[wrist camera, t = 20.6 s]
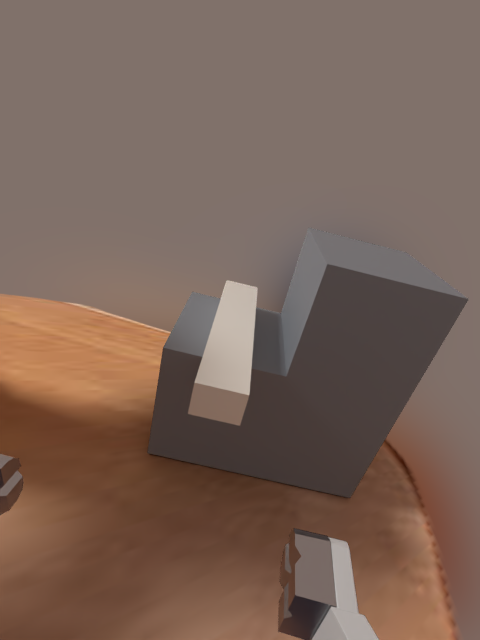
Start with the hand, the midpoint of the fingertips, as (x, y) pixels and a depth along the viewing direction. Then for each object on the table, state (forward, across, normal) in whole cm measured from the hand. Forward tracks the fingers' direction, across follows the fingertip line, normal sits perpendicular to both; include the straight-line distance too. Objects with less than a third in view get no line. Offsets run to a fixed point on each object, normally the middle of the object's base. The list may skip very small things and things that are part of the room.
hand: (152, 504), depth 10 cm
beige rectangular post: (+24, -1, -9) cm, 25 cm away
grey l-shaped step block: (+28, +4, -24) cm, 37 cm away
